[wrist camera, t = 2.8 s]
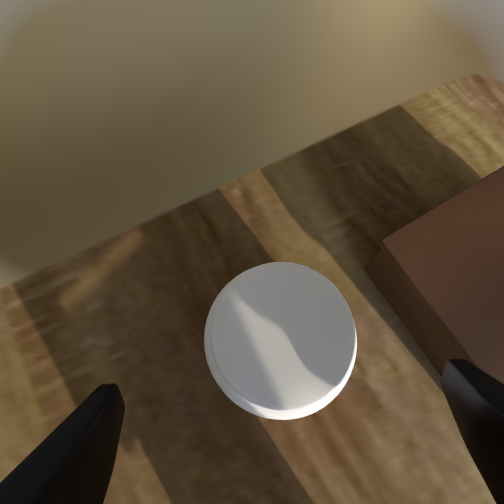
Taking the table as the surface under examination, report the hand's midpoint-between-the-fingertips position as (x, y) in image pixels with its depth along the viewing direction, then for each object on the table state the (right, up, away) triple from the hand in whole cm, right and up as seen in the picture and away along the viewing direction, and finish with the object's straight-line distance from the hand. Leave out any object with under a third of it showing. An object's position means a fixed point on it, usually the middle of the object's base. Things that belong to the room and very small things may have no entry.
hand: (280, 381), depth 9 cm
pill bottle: (+1, -1, +9) cm, 10 cm away
